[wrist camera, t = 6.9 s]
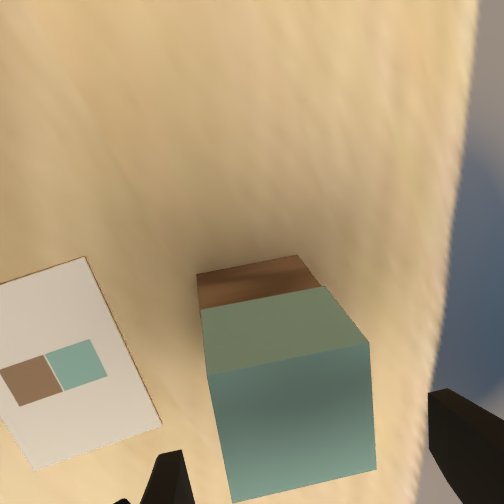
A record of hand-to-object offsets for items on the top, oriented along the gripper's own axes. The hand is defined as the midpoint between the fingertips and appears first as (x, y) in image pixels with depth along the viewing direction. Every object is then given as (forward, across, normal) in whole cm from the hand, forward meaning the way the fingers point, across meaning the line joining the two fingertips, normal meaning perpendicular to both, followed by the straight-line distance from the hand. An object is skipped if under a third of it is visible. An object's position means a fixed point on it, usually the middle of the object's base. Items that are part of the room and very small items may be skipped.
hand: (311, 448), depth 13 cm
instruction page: (+10, +10, +2) cm, 15 cm away
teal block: (+6, 0, 0) cm, 6 cm away
